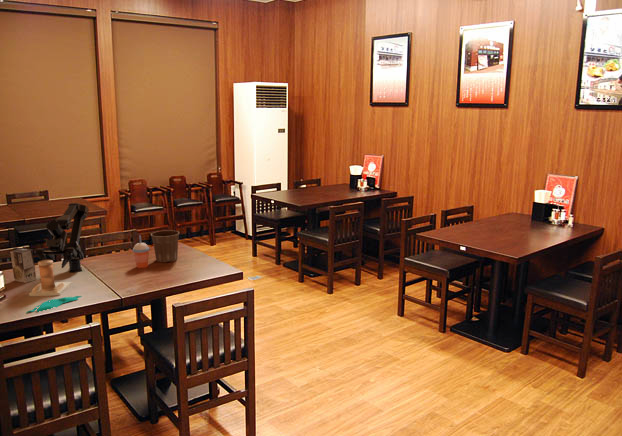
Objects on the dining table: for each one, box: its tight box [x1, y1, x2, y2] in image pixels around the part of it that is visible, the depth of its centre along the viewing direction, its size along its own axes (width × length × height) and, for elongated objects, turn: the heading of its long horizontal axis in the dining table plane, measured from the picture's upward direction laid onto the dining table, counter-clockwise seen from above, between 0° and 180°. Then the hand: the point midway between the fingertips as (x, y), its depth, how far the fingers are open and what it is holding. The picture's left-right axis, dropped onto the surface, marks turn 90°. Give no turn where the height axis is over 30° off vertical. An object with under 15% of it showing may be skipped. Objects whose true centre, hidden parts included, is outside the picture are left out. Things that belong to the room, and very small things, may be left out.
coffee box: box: [9, 247, 37, 284], centre depth 263 cm, size 9×6×16 cm
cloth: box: [25, 295, 83, 314], centre depth 231 cm, size 26×14×2 cm, turn 132°
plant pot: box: [150, 229, 180, 263], centre depth 297 cm, size 16×16×16 cm
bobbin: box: [37, 259, 56, 292], centre depth 245 cm, size 6×6×14 cm
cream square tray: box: [28, 281, 73, 297], centre depth 249 cm, size 16×14×3 cm
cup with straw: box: [132, 235, 150, 269], centre depth 284 cm, size 9×9×18 cm
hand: (52, 268), depth 251 cm, fingers open, 9 cm apart
